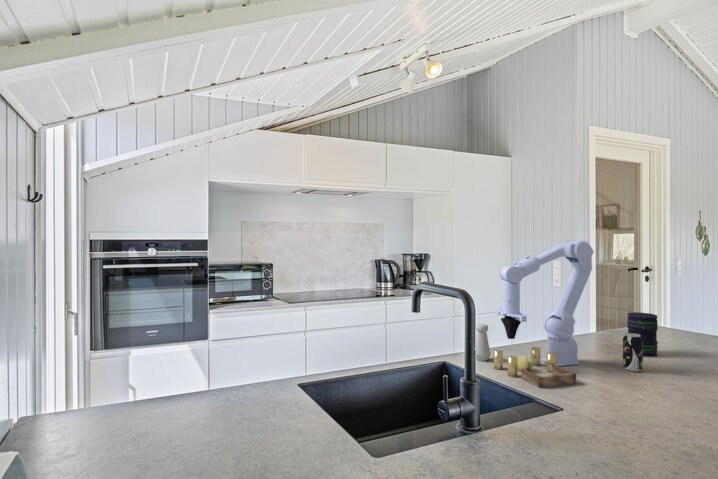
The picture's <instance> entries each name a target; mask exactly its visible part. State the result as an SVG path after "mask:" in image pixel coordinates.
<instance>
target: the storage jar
mask: <svg viewBox="0 0 718 479" xmlns="http://www.w3.org/2000/svg"><path fill="white" fill-rule="evenodd" d="M658 324H659V323H658V315H657V314H655V313H650V312H649V313H647V312H633V311H632V312H627V319H626V325H627V326H626V327H627V333H634V334H639V335H641V338H642V340H643V358H644V357H645V358H655V357H658V347H659V346H658V344H659V343H658V340H657V336H658V335H657V332H658V329H659V328H658Z"/></svg>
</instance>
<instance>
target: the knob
mask: <svg viewBox="0 0 718 479" xmlns="http://www.w3.org/2000/svg"><path fill="white" fill-rule="evenodd" d="M521 369H525V370H528V371H530V370H531V369H533V363H532V361H531V359H528V357H527V356H525V355H519V356H518V357H517V371H519V372H521Z"/></svg>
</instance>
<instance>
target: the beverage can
mask: <svg viewBox="0 0 718 479" xmlns="http://www.w3.org/2000/svg"><path fill="white" fill-rule="evenodd" d="M643 363H644V357H643V340H642V338H641V335H639V334H634V333H628V332H626V333H624V336H623V338H622V368H623V369H625V370H627V371H630V372H634V373H635V372H641V371H642V370H643V368H644V367H643V366H644V365H643Z"/></svg>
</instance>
